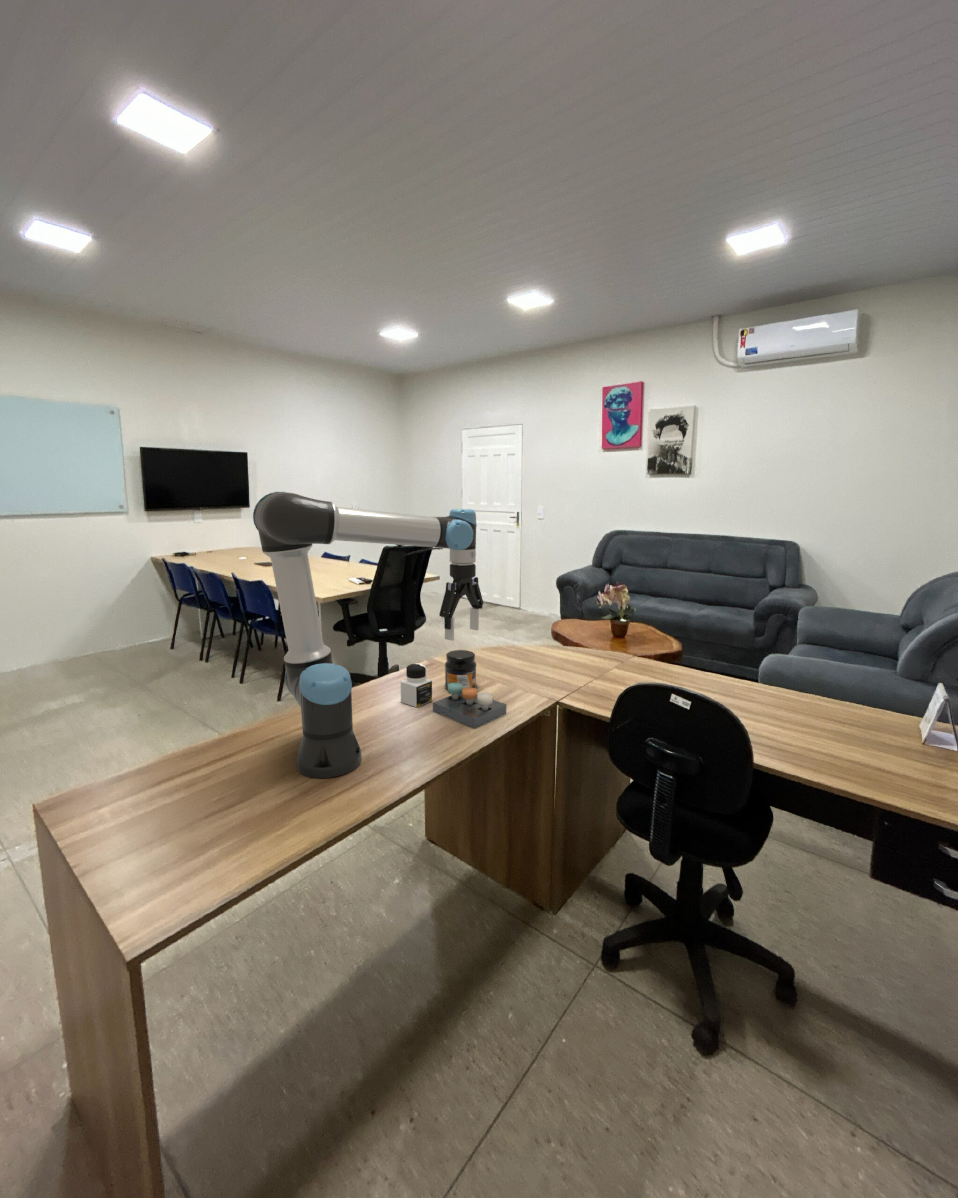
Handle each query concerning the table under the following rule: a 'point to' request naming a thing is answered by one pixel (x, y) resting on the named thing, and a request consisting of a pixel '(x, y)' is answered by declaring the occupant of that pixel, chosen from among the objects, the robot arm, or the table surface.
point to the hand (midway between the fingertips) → (462, 634)
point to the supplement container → (460, 668)
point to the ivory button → (484, 700)
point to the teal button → (455, 690)
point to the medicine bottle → (416, 686)
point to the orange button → (469, 695)
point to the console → (468, 711)
